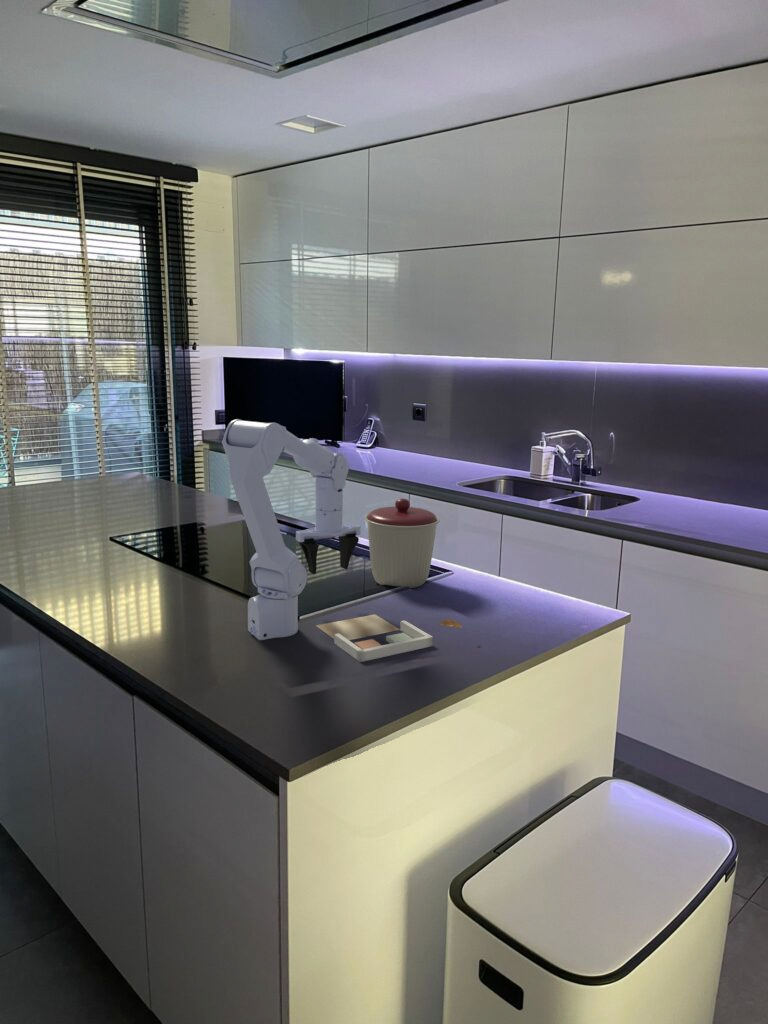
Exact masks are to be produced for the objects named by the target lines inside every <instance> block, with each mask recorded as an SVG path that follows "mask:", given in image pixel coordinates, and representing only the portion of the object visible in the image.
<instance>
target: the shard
mask: <svg viewBox="0 0 768 1024" xmlns="http://www.w3.org/2000/svg"><path fill="white" fill-rule="evenodd" d="M439 624H440V625H441V626H442V627H452V628H457V629H458V628H459V629H462V628H463V627H462V624H461V623H460V622H459V621H457V620H453V619H450V618H447V619H443V620H442V621H440V622H439Z"/></svg>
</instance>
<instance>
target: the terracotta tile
mask: <svg viewBox="0 0 768 1024" xmlns="http://www.w3.org/2000/svg"><path fill="white" fill-rule="evenodd" d="M353 644H355V645H356V646H358V647H359V648H361V649H362V650H363V649H368V648H372V647H377V646H382V645H383V644H380V642H378V641H376V640H375V639H372V638H371V639H370V638H369V639H367V640H361V641H356V642H354V643H353Z"/></svg>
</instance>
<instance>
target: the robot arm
mask: <svg viewBox="0 0 768 1024" xmlns="http://www.w3.org/2000/svg"><path fill="white" fill-rule="evenodd" d="M221 444H222V446H223V451H224V452H225V456H226V458H227V461H228V465H229V466H228V467H229V475H230V476H229V477H230V481H231V484H232V487H233V490H234V493H235V495H236V499H237V501H238V504H239V507H240V510H241V512H242V515H243V518H244V521H245V523H246V526H247V529H248V533H249V535H250V538H251V540H252V544H253V545H254V549H255V551H256V552H255V553H254V554H253V555H252V557H251V559H250V560H249V565H250V569H251V581H252V584H253V585H254V587H256V588H257V593H258V595H256V596H252V597H250V598H249V599H248V602H247V631H248V632H249V633H250V634H251V635H252V636H253V637H255V638H256V639H257V640H258V641H265V640H269V639H275V638H286V637H291V636H293V635H295V634H297V633H298V630H299V627H298V626H299V624H298V622H299V621H298V620H299V619H298V618H299V617H298V616H299V614H298V613H299V610H298V609H299V608H298V607H299V605H298V603H299V601H298V597H299V596H298V595H300V594H301V593H302V592H303V590H304V588H305V587H306V586H307V582H308V573H307V569H308V572H309V573H311V574H312V575H316V574H317V569H318V568H317V567H318V566H317V558H318V551H319V547H320V545H319V544H318V543H316V541H315V540H321V539H323V540H324V539H328V538H329V539H330V538H338V543H339V552H340V553H339V554H340V555H339V565H340V568H342V569H344V570H347V569H348V568H349V564H350V562H351V557H352V554H353V553H354V550H355V548H356V546H357V545H358V543H359V539H360V538H359V536H361V531H362V530H361V528H362V527H361V525H359V524H357V523H356V524H343V507H344V504H343V496H344V495H343V493H344V492H343V489H344V488H345V486H346V479H347V476H348V473H349V469H350V464H349V462H348V459H347V458H346V457H345V456H344V454H343V453H339V452H333V451H331V448H330V447H329V446H323V445H321V444H319V439H317V438H313V437H312V438H311V437H310V438H309V439H308V438H307V439H303V440H301V438H298V437H297V436H296V435H294V434H293V433H292V432H290V431H288V430H287V427H286V426H283V425H281V424H280V423H277V422H260V421H251V420H242V419H241V418H240V419H239V418H236V419H233V420H231V421H230V422H229V423H228V425H227V427H226V429H225V432H224V435H223V438H222V441H221ZM282 453H286V454H287V455H289V456H292V457H293V461H294V463H295V465H297V466H299V467H301V468H303V469H304V470H307V471H308V472H309V473H310V475H311V477H312V478H315V509H314V510H315V515H314V516H315V517H314V518H315V519H314V520H315V523H314V524H315V527H311V528H307V529H303V530H298V531H297V530H296V531H295V541H297V542H298V544H299V546H300V548H301V550H302V552H303V555H304V557H305V560H306V564H307V569H306V566H304V564H302V563H301V561H300V559H299V556H298V555H297V554H296V553H295V552H293V551H292V550H291V549H289V548H288V547H287V546H286V544H285V541H284V538H283V535H282V532H281V530H280V526H279V523H278V520H277V517H276V515H275V511H274V508H273V505H272V502H271V499H270V496H269V493H268V490H267V487H266V485H265V481H264V477H265V476H267V475H269V474H270V473H271V472H272V470H273V468H274V466H275V465H276V463H277V461H278V460H279V457H280V455H281V454H282Z"/></svg>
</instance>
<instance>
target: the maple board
mask: <svg viewBox="0 0 768 1024" xmlns="http://www.w3.org/2000/svg"><path fill="white" fill-rule="evenodd" d="M315 627H316V628H318V629H320V630H321V631H322V632H324V633H325V634H326V635H328V636H329V637H330V638H332V639H333V640H334V634H338V633H339V634H341V635H342V636H343V637H345V638H346V639H348V640H349V641H353V640H357V639H361V638H367V637H372V636H376V635H377V636H378V635H381V634H385V633H390V632H392V633H393V632H397V631H401V630H400V628H398V627H396V625H394V624H392V623H390V622H388V621H387V620H385V619H384V618H382V617H380V616H378V615H377V614H375V613H374V614H369V615H365V616H359V617H353V618H348V619H344V620H343V619H342V620H337V621H332V622H328V623H321V624H316V625H315Z"/></svg>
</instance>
